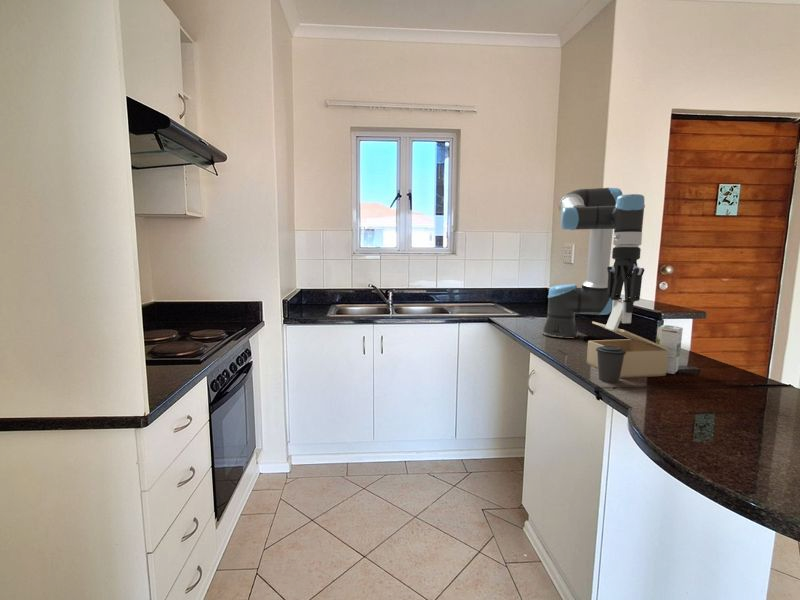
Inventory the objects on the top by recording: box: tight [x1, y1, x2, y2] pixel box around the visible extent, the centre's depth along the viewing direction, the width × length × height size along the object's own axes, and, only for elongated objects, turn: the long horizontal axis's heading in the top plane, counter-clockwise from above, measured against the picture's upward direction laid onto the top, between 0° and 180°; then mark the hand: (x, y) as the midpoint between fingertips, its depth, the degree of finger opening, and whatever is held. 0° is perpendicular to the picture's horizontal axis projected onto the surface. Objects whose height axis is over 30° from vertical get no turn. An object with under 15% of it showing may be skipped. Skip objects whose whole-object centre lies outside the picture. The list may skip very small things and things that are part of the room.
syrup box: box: [655, 324, 684, 375], centre depth 127 cm, size 6×6×14 cm
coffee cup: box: [596, 346, 626, 384], centre depth 118 cm, size 8×8×10 cm
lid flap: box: [591, 302, 668, 350], centre depth 128 cm, size 15×17×9 cm
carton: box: [586, 338, 668, 379], centre depth 129 cm, size 16×16×8 cm
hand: (620, 321), depth 124 cm, fingers closed on lid flap, 4 cm apart
